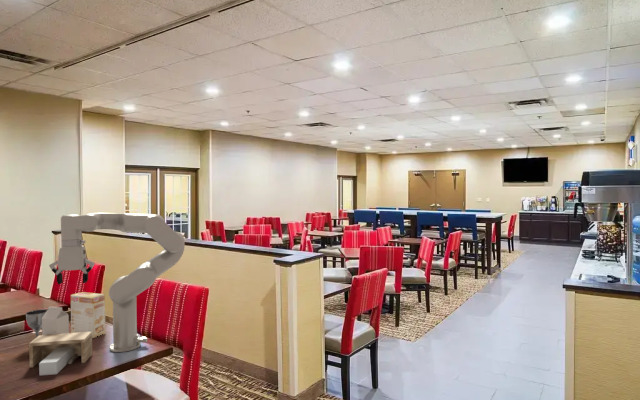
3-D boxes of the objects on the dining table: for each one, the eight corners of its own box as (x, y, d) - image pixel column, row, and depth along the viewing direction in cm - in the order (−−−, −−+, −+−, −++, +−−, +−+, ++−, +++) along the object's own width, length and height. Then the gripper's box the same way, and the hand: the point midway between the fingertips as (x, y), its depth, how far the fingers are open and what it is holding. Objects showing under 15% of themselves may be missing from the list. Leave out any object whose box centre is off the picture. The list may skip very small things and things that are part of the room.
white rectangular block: (73, 357, 175) (73, 346, 174) (56, 374, 159) (56, 361, 159) (58, 359, 173) (57, 347, 173) (39, 376, 158) (39, 363, 158)
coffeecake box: (106, 333, 202) (105, 293, 202) (93, 338, 196) (92, 297, 195) (83, 329, 208) (82, 291, 207) (70, 334, 201) (69, 294, 201)
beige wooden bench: (92, 353, 178) (91, 331, 177) (84, 362, 169) (84, 339, 168) (40, 358, 174) (39, 335, 173) (29, 367, 165) (29, 343, 164)
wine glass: (44, 346, 186) (43, 313, 186) (24, 348, 184) (23, 315, 183) (50, 340, 194) (49, 308, 193) (30, 342, 191) (29, 310, 191)
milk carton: (56, 353, 178) (55, 310, 177) (42, 352, 179) (41, 309, 179) (69, 347, 185) (68, 305, 184) (55, 346, 186) (54, 304, 186)
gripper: (96, 241, 183) (97, 280, 184) (53, 242, 179) (54, 282, 180) (90, 243, 176) (91, 284, 176) (45, 245, 172) (46, 286, 173)
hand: (72, 283), depth 178 cm, fingers open, 9 cm apart
